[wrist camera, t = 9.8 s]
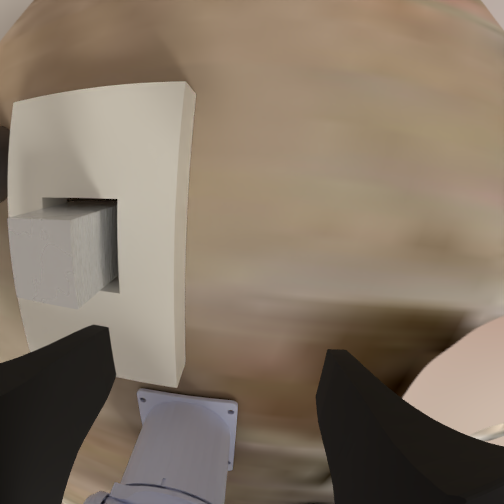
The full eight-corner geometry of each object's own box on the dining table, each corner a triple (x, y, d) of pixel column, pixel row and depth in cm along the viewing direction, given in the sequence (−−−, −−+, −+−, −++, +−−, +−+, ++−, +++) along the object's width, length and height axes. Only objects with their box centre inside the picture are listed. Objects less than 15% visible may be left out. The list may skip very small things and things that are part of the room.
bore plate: (185, 362, 22) (177, 387, 19) (49, 336, 21) (30, 354, 19) (196, 94, 17) (185, 81, 14) (38, 107, 17) (13, 102, 14)
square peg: (129, 265, 20) (77, 309, 13) (77, 260, 20) (17, 297, 13) (128, 202, 19) (70, 220, 12) (74, 200, 19) (7, 218, 12)
